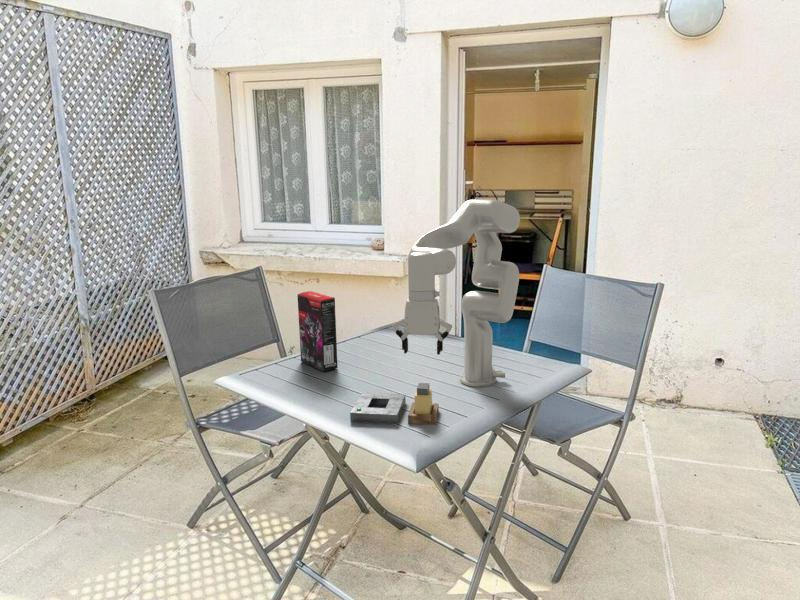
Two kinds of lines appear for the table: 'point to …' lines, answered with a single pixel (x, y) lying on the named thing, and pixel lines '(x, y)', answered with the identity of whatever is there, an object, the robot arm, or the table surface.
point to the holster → (423, 415)
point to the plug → (423, 399)
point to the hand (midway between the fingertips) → (422, 352)
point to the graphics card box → (317, 330)
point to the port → (385, 414)
